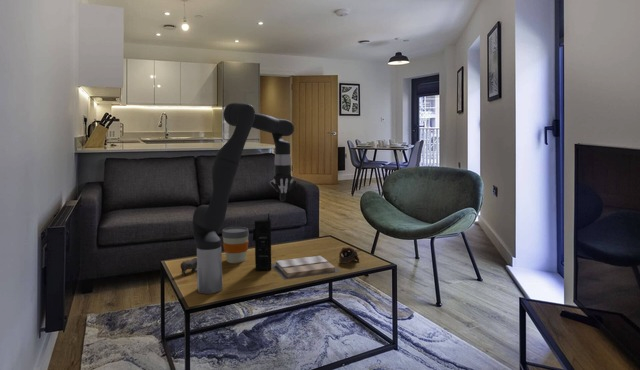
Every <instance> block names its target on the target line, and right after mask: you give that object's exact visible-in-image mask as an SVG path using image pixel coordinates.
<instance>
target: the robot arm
mask: <svg viewBox="0 0 640 370" xmlns="http://www.w3.org/2000/svg"><path fill="white" fill-rule="evenodd" d="M223 120H224V121H225V122H226V124H228V125H230V126H233V127H234V131H233V133H232V135H231V137H230V138H229V139H228V140H227V142H226V143H225V144H224V145H223V146H222V147H221V148H220V149H219V151H218V152H216V156H215V158H214V161H213V164H212V168H211V182H212V194H211V198H210V200H209V201H210V202H209V204H201V205H198V206H197V207H196V208H195V209H194V212H193V214H192V229H193V238H194V241H195V245H196V258H197V268H196V271H197V272H196V282H197V283H196V284H197V285H196V287H197V291H198V294H205V295H207V294H215V293H219V292H221V291H222V290H223V262H222V261H223V259H222V256H223V255H222V239H221V238H220V236H219V235H218V234H217V232H216V231H218V230H219V229H221V228H222V226H223V225H224V222H225V219H226V214H227V208H228V203H229V199H230V195H231V191H232V189H233V188H232V187H233V183H234V180H235V177H236V175H237V172H238V168H239V164H240V161H241V157H242V154H243V151H244V148H245V144H246V142H247V140H248V137H249V134H250V131H251V130H252V128H253V129H256V130H260V131H262V132H266V133H269V134H270V133H271V135H272V139H273V144H274V162H273V163H274V176H273V179H272V180H269V184H270V185H271V187H272V188H273V189H274V190H275V191H276V192H277V193H279V200H280V201H281V202H285V201H286V200H287V194H288V192H291V190H292V189H293V188H294V186H295V185H296V183H297V180H294V179H293V176H292V157H291V143H290V142H289V141H287V140H284V137H289V136H290V137H291V136H292V135H293V133H294V131H295V125H294V124H293V122H292V121H290V120H288V119H284V118H276V117H274V116H271V115H267V114H262V113H257V112H256V110H255V107H254V106H253V105H252V104H249V103H240V102H232V103H229V104H227V105H226V106H225V107H224V110H223ZM276 184H277V185H276Z"/></svg>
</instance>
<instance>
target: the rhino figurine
mask: <svg viewBox="0 0 640 370" xmlns="http://www.w3.org/2000/svg"><path fill="white" fill-rule="evenodd" d="M180 269H181V276H182V277H185V276H186V271H187V270H191V272H193V273H197V257H194V258H192V259H190V260H184V261H182V262H181V263H180Z"/></svg>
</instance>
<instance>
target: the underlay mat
mask: <svg viewBox="0 0 640 370" xmlns="http://www.w3.org/2000/svg"><path fill="white" fill-rule="evenodd" d="M271 268H273V269H274V271H276V272H277V274H279V275H280V276H281V277H282V279H283V280H284V281H285V280H292V279H300V278H301V279H302V278H307V277H315V276H323V275H327V274H335V273H337V274H338V273H342V271H341V270H339V269H338V268H336V267H335V271H332V272H324V273H317V274H310V275H302V276H295V277H287V276H286V275H285V274H284V273H283V271H281V270H280V269H279V268H278V266H277V265H276V263H271Z"/></svg>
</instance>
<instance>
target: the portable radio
mask: <svg viewBox="0 0 640 370" xmlns="http://www.w3.org/2000/svg"><path fill="white" fill-rule="evenodd" d="M267 215H268V217H267V218H255V219H254V220H253V221H254V227H253V229H252V242H254V261H255V262H254V265H255V272H266V271H272V266H271V264H272V229H271V228H272V227H271V226H272V222H271V218H270V213H267Z"/></svg>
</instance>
